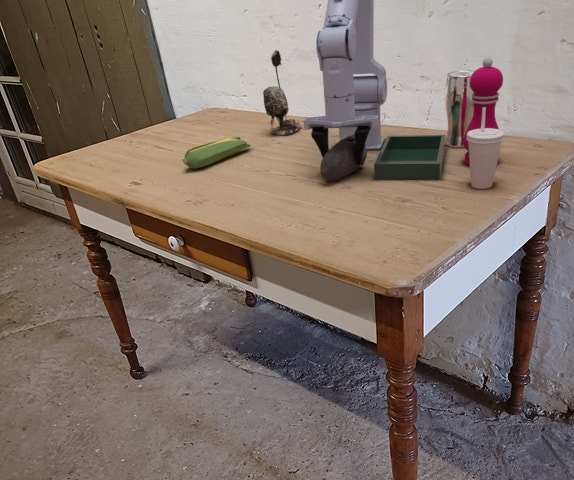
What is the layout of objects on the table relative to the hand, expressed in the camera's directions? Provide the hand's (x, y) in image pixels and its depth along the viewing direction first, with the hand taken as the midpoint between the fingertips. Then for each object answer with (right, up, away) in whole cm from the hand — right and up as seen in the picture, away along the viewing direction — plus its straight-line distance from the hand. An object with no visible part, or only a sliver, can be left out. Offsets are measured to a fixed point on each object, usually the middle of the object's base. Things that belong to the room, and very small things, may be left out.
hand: (342, 163), depth 116 cm
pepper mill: (+28, 0, 0) cm, 28 cm away
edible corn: (-27, +5, +20) cm, 34 cm away
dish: (+15, +1, +4) cm, 15 cm away
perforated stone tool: (0, -2, +2) cm, 3 cm away
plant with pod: (-12, +16, +36) cm, 41 cm away
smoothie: (+25, -7, -11) cm, 28 cm away
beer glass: (+27, +7, +12) cm, 31 cm away
